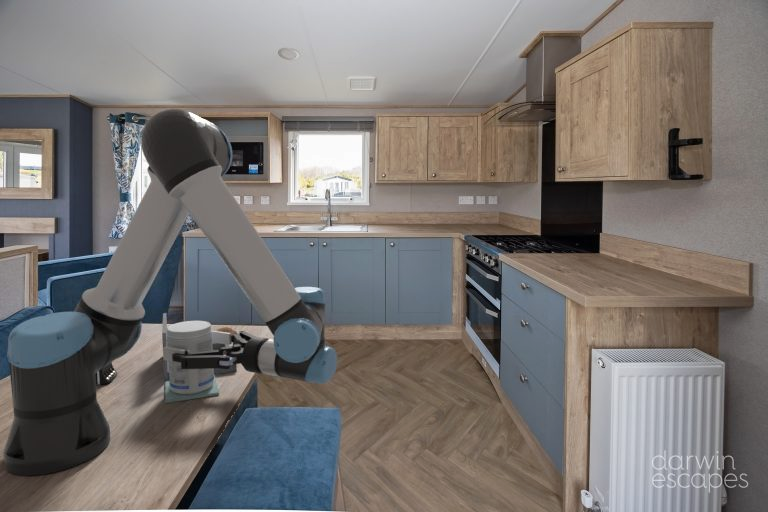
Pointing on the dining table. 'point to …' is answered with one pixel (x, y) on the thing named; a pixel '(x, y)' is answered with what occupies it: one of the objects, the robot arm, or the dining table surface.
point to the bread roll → (227, 330)
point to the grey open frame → (215, 347)
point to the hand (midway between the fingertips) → (187, 343)
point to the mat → (175, 397)
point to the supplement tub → (195, 340)
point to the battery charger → (105, 374)
